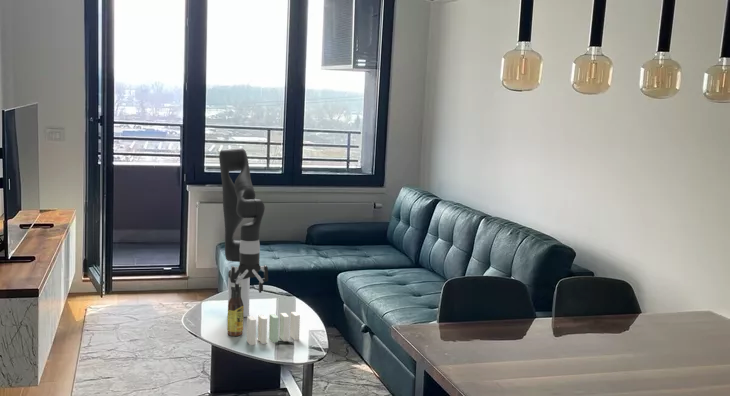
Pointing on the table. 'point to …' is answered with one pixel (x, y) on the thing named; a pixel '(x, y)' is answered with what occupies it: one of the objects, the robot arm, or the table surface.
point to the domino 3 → (273, 328)
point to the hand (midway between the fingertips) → (248, 292)
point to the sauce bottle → (235, 313)
